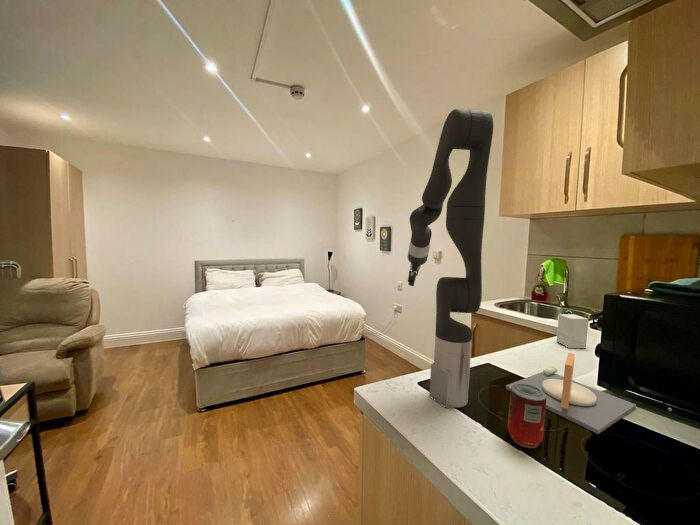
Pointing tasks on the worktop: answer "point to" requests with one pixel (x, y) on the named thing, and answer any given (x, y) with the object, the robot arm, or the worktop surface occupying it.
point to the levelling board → (586, 416)
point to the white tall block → (572, 330)
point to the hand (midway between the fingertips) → (413, 277)
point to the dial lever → (569, 388)
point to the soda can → (526, 415)
